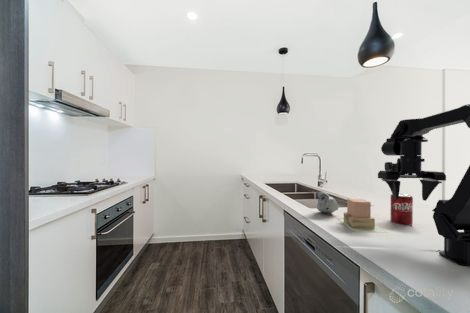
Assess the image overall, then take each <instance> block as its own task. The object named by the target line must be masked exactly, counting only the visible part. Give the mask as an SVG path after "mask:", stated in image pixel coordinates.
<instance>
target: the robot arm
mask: <svg viewBox="0 0 470 313" xmlns="http://www.w3.org/2000/svg"><path fill="white" fill-rule="evenodd" d="M463 123H465V125H466V126H467V128H469V129H470V104H463V105H460V107H457V108H453V109H450V110H446V111H442V112H439V113H436V114H433V115H429V116H426V117H419V118H409V119H401V120H399V121H398V124H397V125H396V127H395V129H394V130H393V132H392V133H391V135H390V137H388V138H386V141H385V142H384V143H383V144H382V145H381V153H383V155H385V156H395V157H396V156H399V158H397V159H396V163H395V162H392V161H386V162H384V170H379V171H378V173H377V178H378V179H381V181H382V182H385V184H387V185H388V187H389V190H390V191H391V195H392V194H393V197H394V199H395V200H398V197H399V194H400V188H401V181H400V180H399V179H419V182H420V183H421V196H422V201H427V200H428V199H429V197H430V196H431V194H432V193H433V192H434V190H435V189H436V187H438V185H439V184H443V182H444V181H445V182H446V181H447V175H446V173H445V172H443V171H435V170H422V163H424V162H425V161H426V160H425V158H422V146H423V144H422V143H427V142H428V141H429V140H428V139H427V138H426V137H424V135H427V134H429V132H431V131H432V130H436V129H440V128H445V127H446V128H447V127H449V126H454V125H459V124H463ZM442 181H443V182H442ZM432 212H433V214H432V218H433V221H434V224H435V228H436V231H437V234H438V235H439V236H441V237H443V248H444V249H443V251H444V252H443V251H439V252H438V254H439V255H440V256H442V257H444V258H446V259H448V260H450V261H451V262H453V263H455V264H457V265H459V266H466V267H468V266H470V164H469V166H468V167H467V169H466V171H465V173H464V174H463V177H462V178H461V180H460V182H459V184H458V185H457V188H455V191H454V193H453V194H452V196H451V198H449V199H439V200H438V201H437V202H436V206H435V207H434V208H433V209H432Z"/></svg>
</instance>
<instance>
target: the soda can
mask: <svg viewBox="0 0 470 313" xmlns="http://www.w3.org/2000/svg"><path fill="white" fill-rule="evenodd" d="M413 199H414V198H413V196H412V195H410V194H406V193H399V197H398V200H395V199H394V197H393V194H392V193H391V195H390V214H389V215H390V222H392V223H394V224H398V225H404V226H409V227H411V226H413V221H414V220H413V218H414V217H413V216H414V210H413V209H414V200H413Z"/></svg>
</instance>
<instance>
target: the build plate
mask: <svg viewBox="0 0 470 313" xmlns="http://www.w3.org/2000/svg"><path fill="white" fill-rule="evenodd" d="M336 219H337V220H338V221H340V223H342V224H344V225H345V226H346V227H347V228H348V229H350V230H352V232H361V233H363V232H365V233H388V231H386V229H384V228H382V227H379V226H378V225H376V224H375V229H356V228H351V227H350V226H349V225H347V224H346V223H345V222H344V217H342V218H341V217H337V218H336Z"/></svg>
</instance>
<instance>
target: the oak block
mask: <svg viewBox="0 0 470 313" xmlns="http://www.w3.org/2000/svg"><path fill="white" fill-rule="evenodd" d="M343 218H344V222H345V223H346V224H347V225H349V226H350V227H351V228H356V229H375V225H376V224H375V223H376V222H375V221H376V219H375V217H372V216H371V218H361V217H353V216H351V215H350V214H348V213H347V212H345V211H344V212H343Z"/></svg>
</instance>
